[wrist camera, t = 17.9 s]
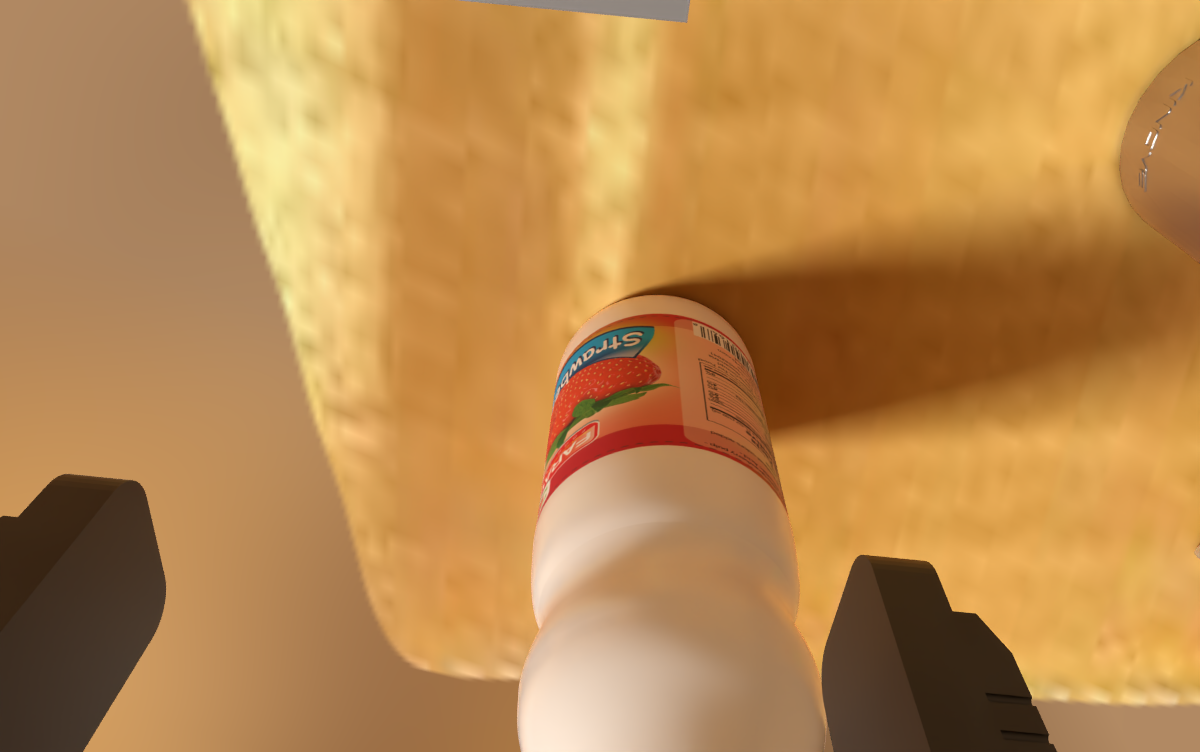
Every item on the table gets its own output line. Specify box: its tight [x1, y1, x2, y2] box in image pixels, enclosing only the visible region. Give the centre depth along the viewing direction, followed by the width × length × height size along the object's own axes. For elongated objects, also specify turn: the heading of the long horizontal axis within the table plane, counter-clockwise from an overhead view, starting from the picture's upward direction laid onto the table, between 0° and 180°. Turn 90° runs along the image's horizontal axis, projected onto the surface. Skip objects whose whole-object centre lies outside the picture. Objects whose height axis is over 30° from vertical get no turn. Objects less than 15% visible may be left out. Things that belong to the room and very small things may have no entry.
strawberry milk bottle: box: [517, 295, 826, 752], centre depth 30 cm, size 9×9×28 cm
